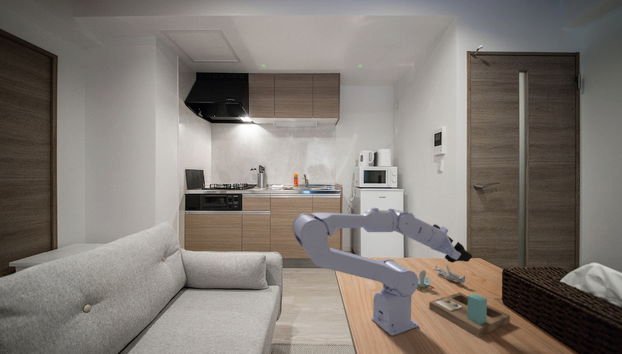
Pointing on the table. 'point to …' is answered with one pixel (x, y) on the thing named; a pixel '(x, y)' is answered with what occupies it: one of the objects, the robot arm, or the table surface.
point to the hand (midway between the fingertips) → (459, 250)
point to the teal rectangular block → (477, 308)
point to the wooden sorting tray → (459, 314)
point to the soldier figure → (450, 275)
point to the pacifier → (423, 280)
